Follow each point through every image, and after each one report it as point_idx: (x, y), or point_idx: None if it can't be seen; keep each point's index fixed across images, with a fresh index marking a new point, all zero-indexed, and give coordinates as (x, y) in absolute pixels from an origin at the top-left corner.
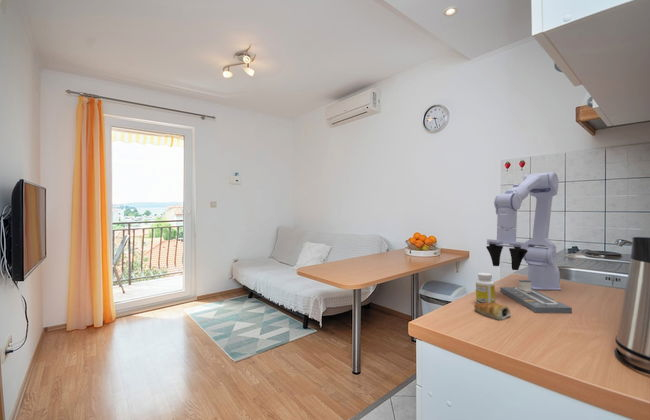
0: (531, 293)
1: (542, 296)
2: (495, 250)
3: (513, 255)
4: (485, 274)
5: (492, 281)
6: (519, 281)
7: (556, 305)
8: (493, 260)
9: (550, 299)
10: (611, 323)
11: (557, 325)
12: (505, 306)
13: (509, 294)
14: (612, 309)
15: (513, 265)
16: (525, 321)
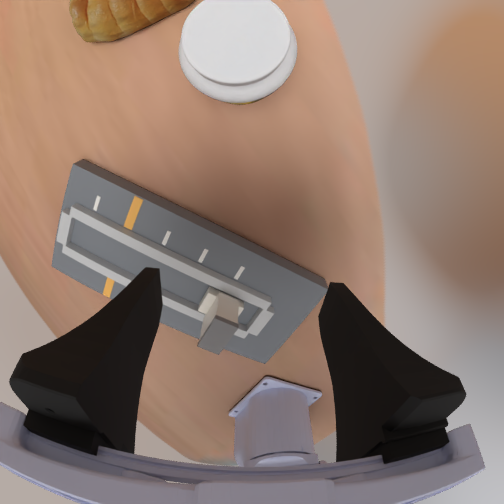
0: None
1: None
2: (366, 402)
3: (81, 338)
4: (218, 24)
5: (192, 69)
6: (235, 321)
7: (58, 235)
8: (347, 307)
9: None
10: (6, 262)
11: (9, 126)
12: (69, 9)
13: (255, 248)
14: None
15: (130, 283)
16: (50, 59)
